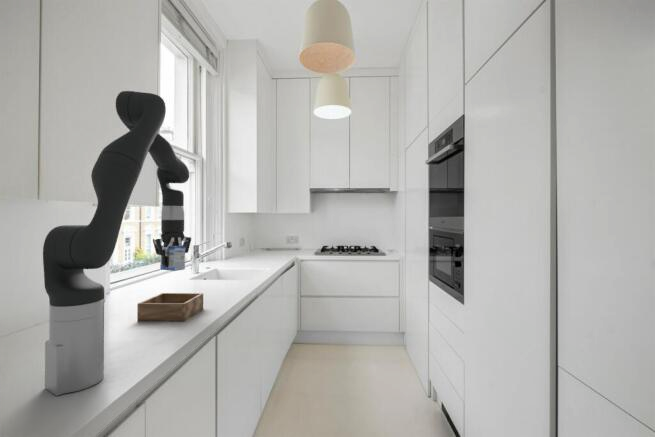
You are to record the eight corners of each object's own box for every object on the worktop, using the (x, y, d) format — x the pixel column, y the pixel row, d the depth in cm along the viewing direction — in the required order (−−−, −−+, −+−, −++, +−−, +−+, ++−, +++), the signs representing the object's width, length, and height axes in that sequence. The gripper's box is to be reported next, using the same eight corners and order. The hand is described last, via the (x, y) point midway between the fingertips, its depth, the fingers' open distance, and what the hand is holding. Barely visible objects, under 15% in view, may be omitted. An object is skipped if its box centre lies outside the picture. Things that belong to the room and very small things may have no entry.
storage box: (184, 321, 110) (184, 304, 110) (137, 321, 110) (137, 303, 111) (203, 308, 126) (203, 293, 126) (162, 308, 126) (162, 293, 127)
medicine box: (160, 269, 118) (160, 245, 118) (170, 267, 122) (171, 244, 122) (174, 271, 114) (174, 246, 115) (185, 269, 118) (185, 245, 118)
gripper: (159, 218, 110) (159, 269, 110) (196, 219, 122) (196, 264, 122) (147, 218, 114) (147, 267, 114) (184, 218, 126) (184, 263, 126)
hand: (172, 265), depth 118 cm, fingers closed on medicine box, 4 cm apart
